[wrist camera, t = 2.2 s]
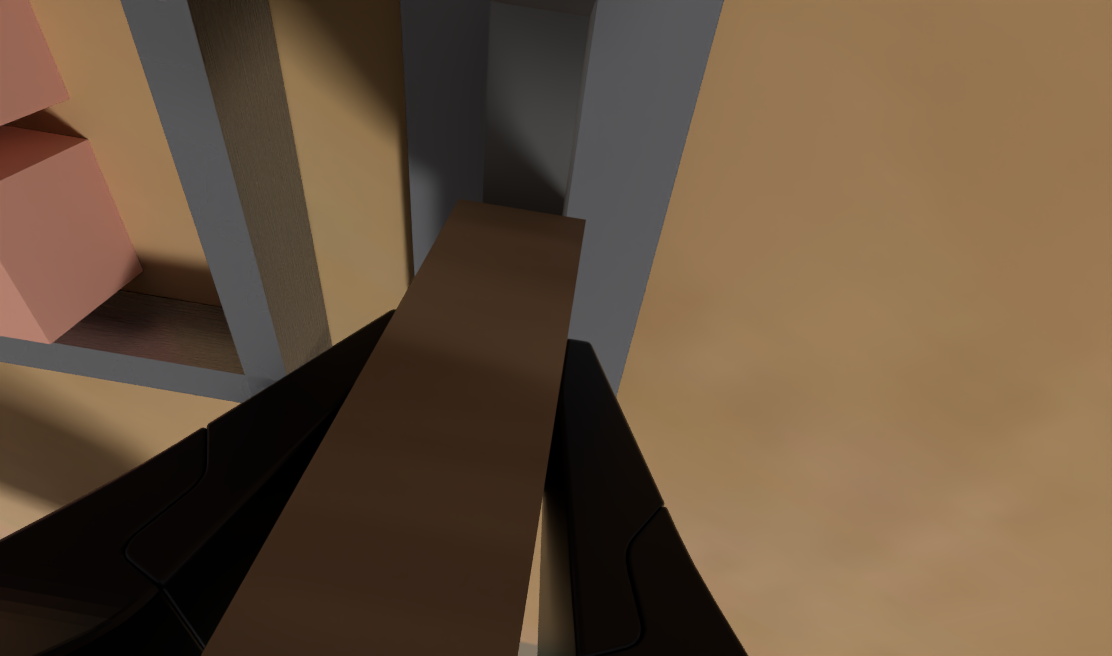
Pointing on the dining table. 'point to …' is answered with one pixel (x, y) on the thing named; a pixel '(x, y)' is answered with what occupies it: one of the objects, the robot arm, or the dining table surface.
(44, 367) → the slot channel
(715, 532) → the dining table surface
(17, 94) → the dusty rose cube
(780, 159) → the dining table surface
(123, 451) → the dining table surface
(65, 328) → the salmon pink cube
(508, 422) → the t-shaped scraper
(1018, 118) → the dining table surface
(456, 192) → the mat
